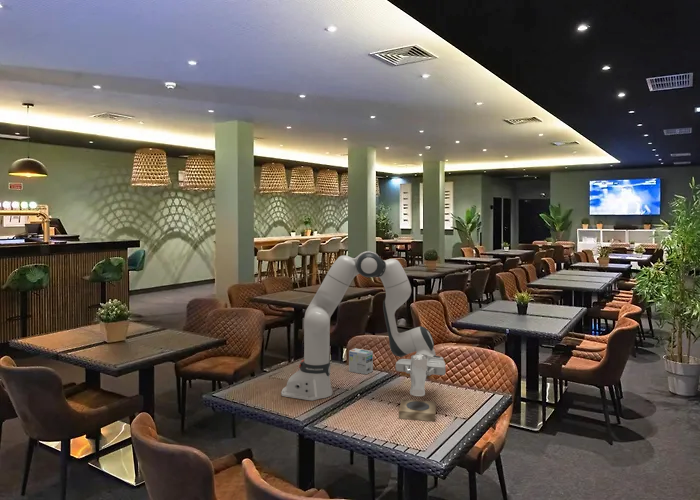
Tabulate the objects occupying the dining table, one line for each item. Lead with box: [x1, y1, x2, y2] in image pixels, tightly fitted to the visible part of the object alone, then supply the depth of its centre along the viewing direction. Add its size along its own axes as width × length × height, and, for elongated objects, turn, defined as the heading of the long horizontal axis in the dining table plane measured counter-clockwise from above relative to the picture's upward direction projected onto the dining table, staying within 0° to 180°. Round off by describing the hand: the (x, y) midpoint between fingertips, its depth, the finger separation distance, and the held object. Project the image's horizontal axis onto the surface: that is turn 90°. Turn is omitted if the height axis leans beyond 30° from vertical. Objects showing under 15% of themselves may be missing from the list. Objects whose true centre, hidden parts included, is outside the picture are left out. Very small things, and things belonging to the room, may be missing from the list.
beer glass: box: [409, 354, 428, 397], centre depth 203 cm, size 7×7×15 cm
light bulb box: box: [348, 347, 374, 375], centre depth 258 cm, size 11×7×11 cm, turn 58°
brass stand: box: [398, 398, 437, 422], centre depth 204 cm, size 14×13×3 cm
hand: (418, 372), depth 202 cm, fingers closed on beer glass, 7 cm apart
